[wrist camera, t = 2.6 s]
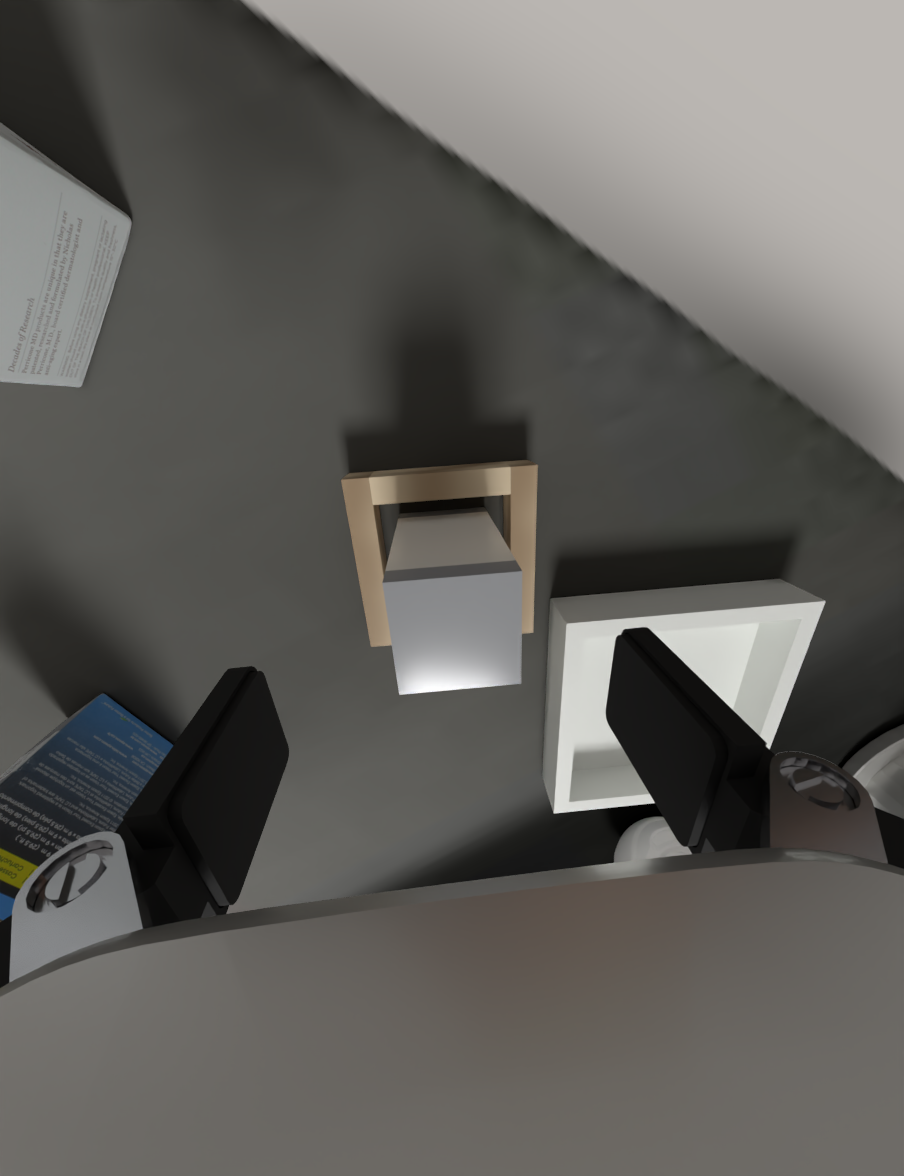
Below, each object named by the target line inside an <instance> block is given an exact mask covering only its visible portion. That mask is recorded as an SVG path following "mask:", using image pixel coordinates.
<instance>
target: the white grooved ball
mask: <svg viewBox="0 0 904 1176" xmlns="http://www.w3.org/2000/svg"><path fill="white" fill-rule="evenodd" d="M688 854H692V853H691V851H690V849H689V848H688V847H684V846H682V845H681V844H680V843H679V842H678V840H677V839H676V837H675V836H674V834H673V832H672V831H671V829H670V827H669V826H668V824H667V822H666V821H665V819H664V817H648V818H644V819H642V820H639V821H637V822H635V823H634V824H632V825H631V826H630V827H629V828H628V829H627V830H626V831H625V832H624V833H623V835H622V836H621V838H620V840H619V842H618V844H617V847H616V850H615V854H614V863H618V862H627V861H635V860H643V859H651V858H659V857H668V856H678V855H688Z"/></svg>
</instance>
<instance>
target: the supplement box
mask: <svg viewBox="0 0 904 1176" xmlns="http://www.w3.org/2000/svg"><path fill="white" fill-rule="evenodd" d="M131 225H132V222H131V219H130V217H129V216H128V215H127V214H126V213H124V212H123V211H121V210H120V209H119V208H117V207H116V206H114V205H113V204H111V203H110V202H109V201H107V200H106V199H104V198H103V197H101V196H100V195H99V194H97V193H96V192H94V191H93V190H92V189H90V188H89V187H87V186H86V185H85V184H83V183H82V182H81V181H79V180H78V179H76V178H75V177H74V176H72V175H71V174H70V173H68V172H67V171H65V170H64V169H63V168H61V167H60V166H59V165H57V164H56V163H55V162H53V161H52V160H51V159H49V158H48V157H47V156H45V155H44V154H42V153H41V152H40V151H38V150H37V149H36V148H34V147H33V146H32V145H30V144H29V143H28V142H26V141H25V140H24V139H22V138H21V137H19V136H18V135H17V134H15V133H14V132H13V131H11V130H10V129H9V128H7V127H6V126H5V125H3V124H2V123H1V122H0V382H15V383H27V384H41V385H59V386H73V387H81V386H82V383H83V381H84V378H85V375H86V372H87V369H88V366H89V363H90V360H91V356H92V354H93V350H94V347H95V344H96V341H97V337H98V335H99V332H100V329H101V326H102V322H103V319H104V315H105V313H106V310H107V307H108V304H109V301H110V297H111V294H112V291H113V287H114V284H115V281H116V278H117V275H118V272H119V268H120V265H121V261H122V258H123V255H124V253H125V250H126V246H127V243H128V239H129V234H130V230H131Z"/></svg>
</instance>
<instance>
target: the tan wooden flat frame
mask: <svg viewBox="0 0 904 1176" xmlns="http://www.w3.org/2000/svg"><path fill="white" fill-rule="evenodd" d="M537 469H538V465H537V464H535V463H533V462H531V461H529V460H516V461H503V462H490V463H477V464H463V465H450V466H437V467H424V468H410V469H397V470H384V471H370V472H357V473H349V474H347V475H346V476H345V477H344V478H343V479H342V480H341V482H342V487H343V493H344V498H345V504H346V510H347V515H348V521H349V526H350V532H351V537H352V543H353V549H354V554H355V560H356V565H357V571H358V576H359V582H360V588H361V593H362V599H363V604H364V610H365V615H366V621H367V627H368V632H369V638H370V643H371V647H375V646H386V645H392V643H391V637H390V630H389V623H388V617H387V610H386V604H385V597H384V591H383V584H382V582H383V578H384V574H385V570H386V566H387V558H386V551H385V544H384V537H383V530H382V523H381V516H380V509H379V505H380V504H393V503H406V502H419V501H432V500H444V499H457V498H470V497H483V496H496V495H503V530H504V541H505V543H506V544H507V546H508V548H509V549H510V551H511V553H512V555H513V556H514V558H515V560H516V561H517V563H518V565H519V566H520V568H521V570H522V634H523V633H533V618H534V581H535V544H536V506H537Z"/></svg>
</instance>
